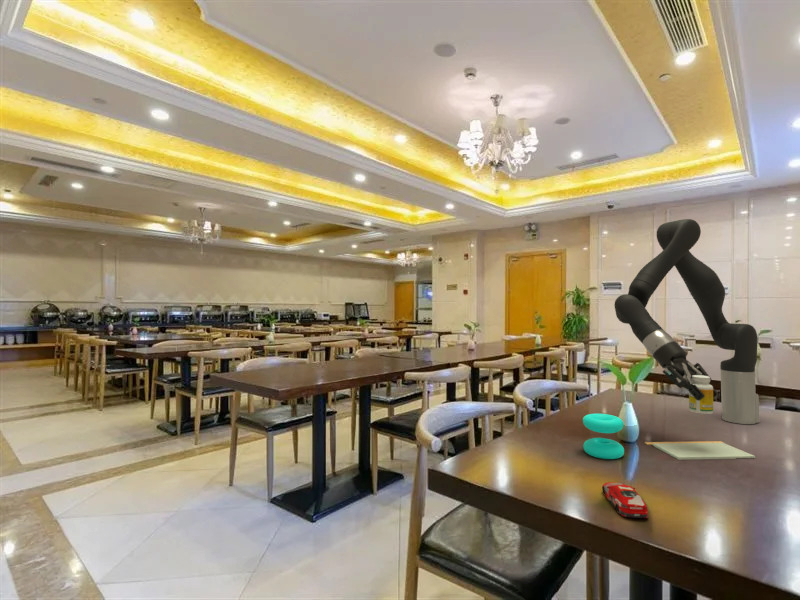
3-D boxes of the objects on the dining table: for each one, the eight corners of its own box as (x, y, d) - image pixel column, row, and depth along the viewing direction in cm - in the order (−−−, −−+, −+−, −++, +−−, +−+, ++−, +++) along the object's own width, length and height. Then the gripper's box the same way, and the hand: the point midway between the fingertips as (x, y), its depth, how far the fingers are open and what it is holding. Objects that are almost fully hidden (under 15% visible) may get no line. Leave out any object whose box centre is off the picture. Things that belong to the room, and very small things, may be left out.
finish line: (720, 442, 122) (720, 441, 122) (724, 443, 121) (724, 442, 121) (644, 443, 122) (644, 442, 122) (647, 444, 121) (647, 443, 121)
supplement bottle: (686, 411, 115) (685, 376, 115) (692, 408, 118) (692, 374, 118) (710, 415, 110) (709, 378, 111) (716, 412, 114) (715, 376, 114)
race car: (599, 491, 92) (599, 472, 92) (626, 492, 91) (625, 474, 91) (620, 521, 79) (620, 499, 79) (652, 523, 78) (651, 501, 78)
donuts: (628, 416, 114) (617, 424, 107) (629, 453, 114) (618, 463, 107) (589, 410, 121) (577, 417, 114) (590, 445, 121) (577, 454, 114)
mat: (722, 444, 120) (722, 442, 120) (755, 458, 109) (755, 456, 109) (652, 445, 120) (652, 443, 120) (678, 459, 109) (678, 457, 109)
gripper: (656, 341, 118) (702, 391, 107) (688, 339, 124) (735, 387, 113) (639, 358, 123) (681, 408, 112) (670, 355, 129) (714, 402, 118)
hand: (708, 397), depth 113 cm, fingers closed on supplement bottle, 5 cm apart
